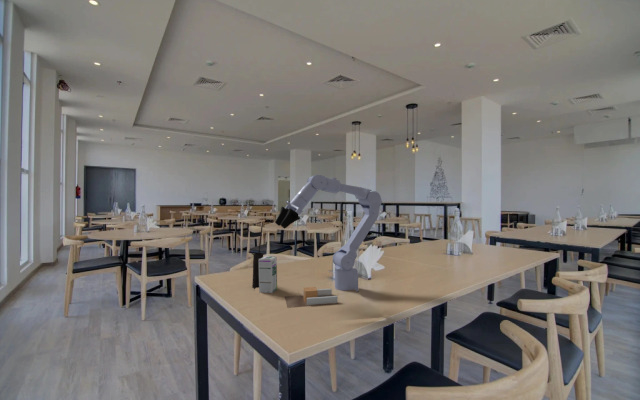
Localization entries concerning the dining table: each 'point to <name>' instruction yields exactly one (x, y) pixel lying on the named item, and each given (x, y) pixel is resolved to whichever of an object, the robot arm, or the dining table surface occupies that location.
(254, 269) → the butter churn
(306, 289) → the block
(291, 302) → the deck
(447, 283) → the dining table surface
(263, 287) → the syrup box
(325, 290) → the trough walls
